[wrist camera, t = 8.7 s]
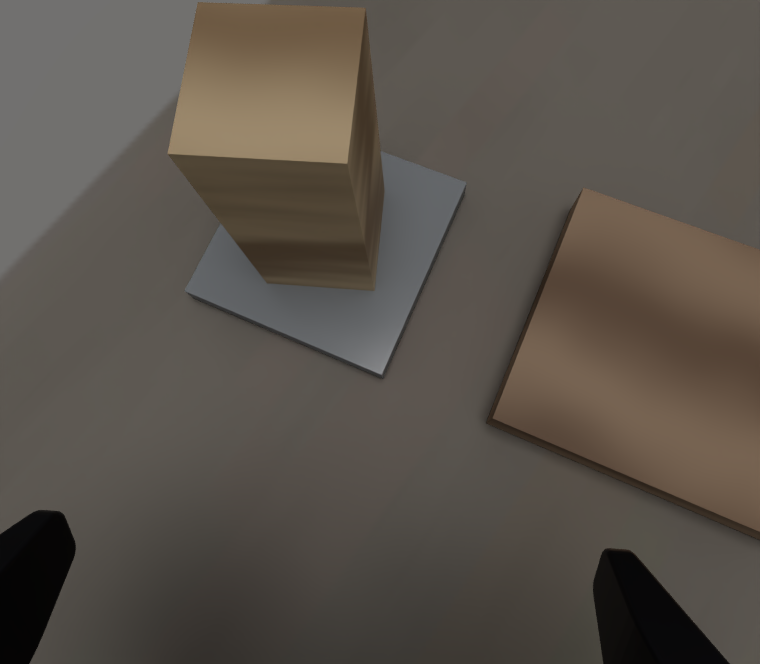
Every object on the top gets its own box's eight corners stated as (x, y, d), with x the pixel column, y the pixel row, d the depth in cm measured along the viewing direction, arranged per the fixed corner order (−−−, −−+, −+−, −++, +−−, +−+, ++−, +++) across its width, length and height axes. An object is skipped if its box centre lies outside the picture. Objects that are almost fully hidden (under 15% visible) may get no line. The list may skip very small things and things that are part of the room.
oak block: (374, 290, 24) (347, 163, 14) (266, 283, 24) (167, 153, 14) (384, 190, 25) (365, 7, 15) (281, 184, 25) (197, 2, 15)
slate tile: (382, 378, 24) (381, 374, 23) (193, 297, 25) (184, 291, 24) (464, 193, 26) (466, 182, 25) (283, 126, 27) (278, 114, 26)
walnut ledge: (764, 541, 22) (798, 548, 20) (485, 423, 23) (492, 418, 21) (831, 304, 24) (869, 288, 22) (570, 209, 25) (583, 187, 23)
